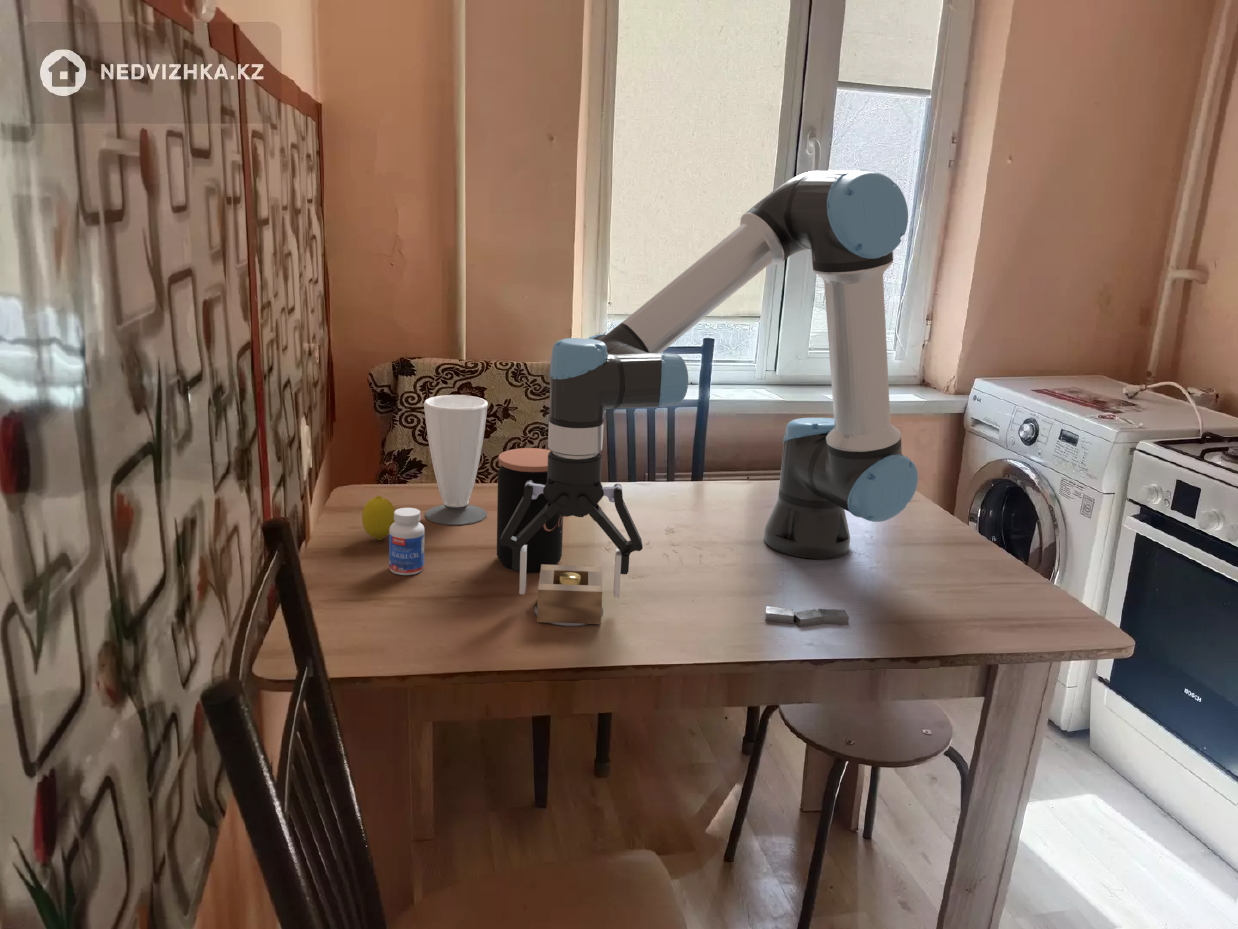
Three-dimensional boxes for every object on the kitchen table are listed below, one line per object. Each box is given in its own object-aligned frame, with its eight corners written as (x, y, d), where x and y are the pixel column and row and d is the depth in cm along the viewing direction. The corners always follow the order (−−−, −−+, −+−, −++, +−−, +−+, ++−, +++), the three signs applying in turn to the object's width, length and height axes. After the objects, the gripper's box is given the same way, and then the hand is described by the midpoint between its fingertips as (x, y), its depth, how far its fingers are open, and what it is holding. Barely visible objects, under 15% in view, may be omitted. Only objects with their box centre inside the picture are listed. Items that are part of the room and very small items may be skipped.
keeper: (602, 597, 139) (604, 564, 137) (603, 627, 129) (605, 592, 128) (536, 595, 138) (537, 561, 137) (532, 625, 129) (533, 589, 127)
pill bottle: (387, 576, 142) (386, 517, 139) (390, 563, 147) (389, 505, 144) (423, 576, 143) (423, 517, 140) (425, 562, 148) (425, 505, 145)
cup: (481, 503, 177) (482, 394, 171) (492, 523, 167) (493, 408, 161) (421, 506, 174) (419, 395, 167) (428, 527, 163) (427, 409, 157)
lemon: (356, 542, 155) (354, 497, 153) (376, 532, 160) (375, 488, 158) (383, 548, 153) (382, 503, 151) (402, 537, 158) (402, 494, 156)
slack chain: (843, 616, 137) (844, 608, 137) (850, 628, 133) (851, 621, 133) (762, 613, 136) (763, 605, 136) (767, 625, 132) (768, 618, 132)
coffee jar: (551, 578, 145) (555, 469, 140) (487, 569, 147) (488, 462, 142) (568, 554, 155) (572, 451, 150) (508, 546, 157) (510, 445, 152)
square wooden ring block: (600, 597, 138) (601, 566, 137) (600, 624, 130) (602, 591, 128) (540, 595, 138) (541, 564, 136) (537, 622, 129) (538, 589, 128)
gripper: (662, 448, 131) (653, 584, 137) (487, 440, 130) (486, 578, 136) (666, 462, 124) (656, 606, 130) (481, 455, 123) (480, 599, 129)
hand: (569, 592), depth 133 cm, fingers open, 13 cm apart
